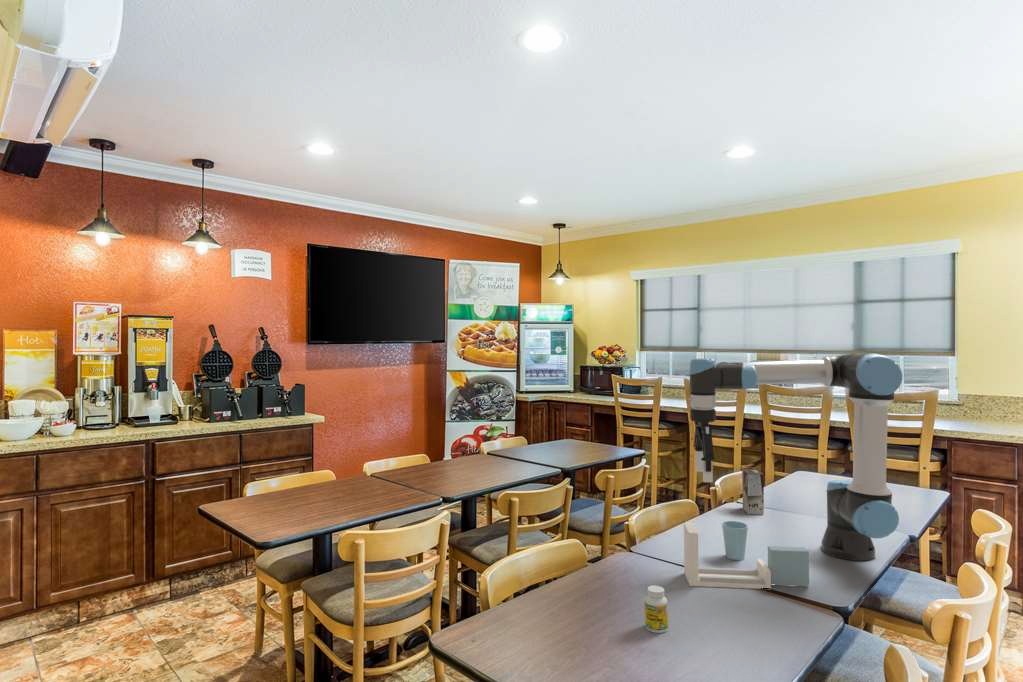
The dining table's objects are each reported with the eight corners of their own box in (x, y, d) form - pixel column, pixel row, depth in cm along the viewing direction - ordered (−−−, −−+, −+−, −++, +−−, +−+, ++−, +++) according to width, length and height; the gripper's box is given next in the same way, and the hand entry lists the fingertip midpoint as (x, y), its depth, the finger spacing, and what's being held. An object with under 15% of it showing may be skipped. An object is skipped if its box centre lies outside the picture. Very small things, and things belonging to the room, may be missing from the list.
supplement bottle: (669, 624, 144) (668, 585, 144) (666, 635, 139) (666, 595, 139) (646, 621, 146) (646, 582, 146) (643, 631, 141) (643, 591, 141)
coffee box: (764, 515, 230) (764, 474, 230) (747, 514, 231) (747, 473, 231) (758, 508, 239) (757, 468, 239) (741, 507, 240) (741, 468, 240)
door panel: (804, 581, 168) (804, 547, 168) (809, 587, 164) (808, 551, 164) (767, 580, 169) (767, 545, 169) (771, 585, 166) (771, 550, 166)
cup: (753, 559, 185) (753, 526, 185) (735, 563, 182) (734, 529, 182) (735, 551, 192) (735, 519, 192) (717, 555, 189) (717, 523, 189)
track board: (761, 576, 172) (761, 525, 172) (771, 589, 163) (770, 535, 163) (684, 573, 175) (683, 522, 175) (689, 585, 166) (689, 532, 166)
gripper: (684, 403, 195) (685, 467, 195) (697, 413, 170) (698, 486, 170) (707, 403, 194) (708, 467, 194) (724, 413, 169) (725, 487, 169)
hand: (703, 476), depth 182 cm, fingers open, 13 cm apart
